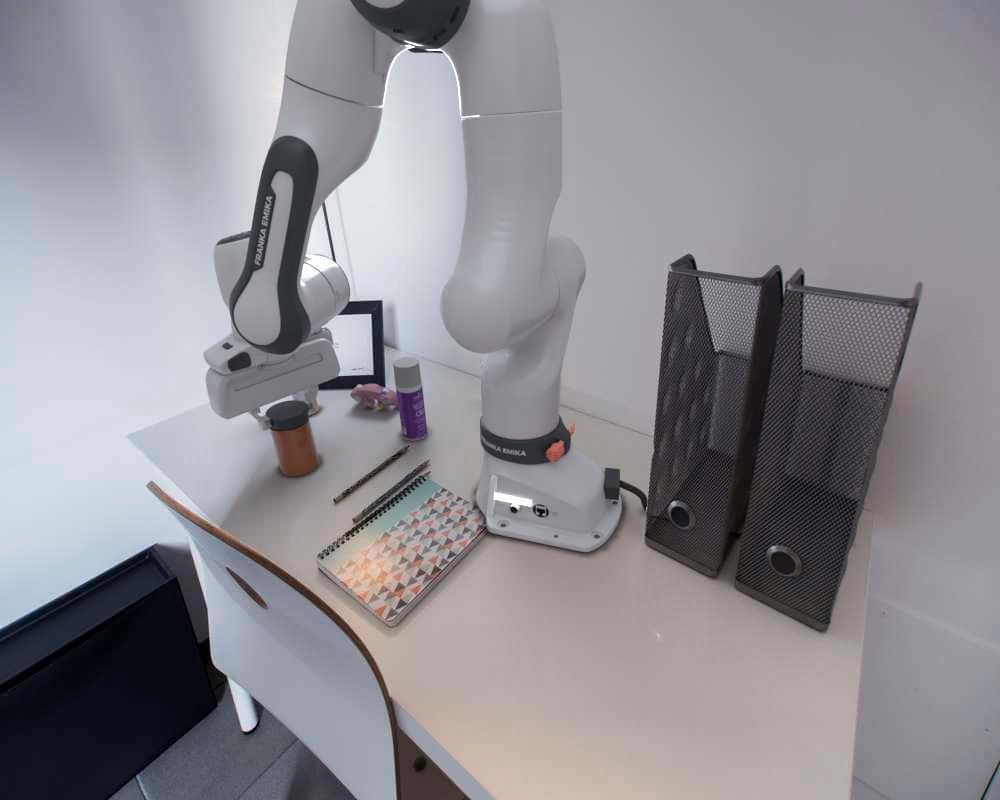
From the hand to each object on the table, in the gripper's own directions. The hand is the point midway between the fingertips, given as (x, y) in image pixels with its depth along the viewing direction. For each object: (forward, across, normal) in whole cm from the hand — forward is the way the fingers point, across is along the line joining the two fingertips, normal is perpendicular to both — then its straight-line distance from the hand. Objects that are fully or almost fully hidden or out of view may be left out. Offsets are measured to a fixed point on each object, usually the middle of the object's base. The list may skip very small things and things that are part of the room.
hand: (288, 418), depth 87 cm
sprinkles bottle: (+10, -10, -16) cm, 21 cm away
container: (+10, -20, +7) cm, 23 cm away
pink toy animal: (+10, -21, -7) cm, 24 cm away
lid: (-1, 0, 0) cm, 1 cm away
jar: (+10, 0, 0) cm, 10 cm away
